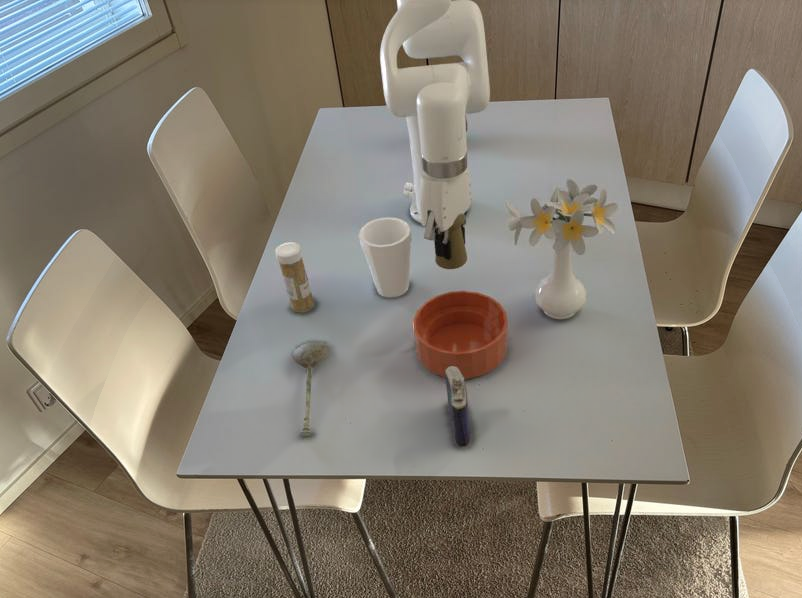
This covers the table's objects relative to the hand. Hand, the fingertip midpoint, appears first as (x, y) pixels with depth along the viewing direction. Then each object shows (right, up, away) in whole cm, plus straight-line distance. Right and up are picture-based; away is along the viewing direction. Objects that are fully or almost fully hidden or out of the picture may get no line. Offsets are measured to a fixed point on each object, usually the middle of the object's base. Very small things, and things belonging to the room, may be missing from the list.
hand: (450, 249), depth 128 cm
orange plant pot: (+2, -18, -6) cm, 19 cm away
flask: (+1, -31, -18) cm, 36 cm away
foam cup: (-11, -6, +8) cm, 15 cm away
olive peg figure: (0, -2, +2) cm, 2 cm away
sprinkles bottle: (-28, -10, +5) cm, 31 cm away
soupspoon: (-24, -25, -10) cm, 36 cm away
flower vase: (+20, -12, 0) cm, 23 cm away
